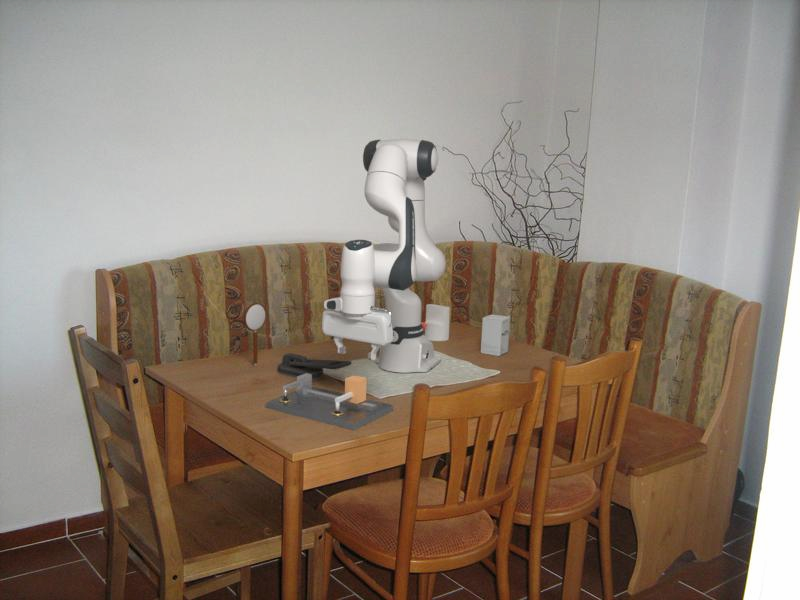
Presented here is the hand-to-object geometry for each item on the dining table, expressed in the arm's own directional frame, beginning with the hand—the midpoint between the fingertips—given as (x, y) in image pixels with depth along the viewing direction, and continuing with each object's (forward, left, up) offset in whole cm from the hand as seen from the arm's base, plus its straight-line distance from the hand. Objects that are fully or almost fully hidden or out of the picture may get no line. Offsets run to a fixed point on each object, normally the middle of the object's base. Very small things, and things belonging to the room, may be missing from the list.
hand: (356, 356), depth 202 cm
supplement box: (-78, +4, -15) cm, 79 cm away
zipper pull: (-17, -28, -15) cm, 36 cm away
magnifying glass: (-16, -49, -15) cm, 54 cm away
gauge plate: (+3, -6, -15) cm, 16 cm away
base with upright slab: (-84, -22, -15) cm, 88 cm away
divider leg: (+4, 0, -12) cm, 13 cm away
